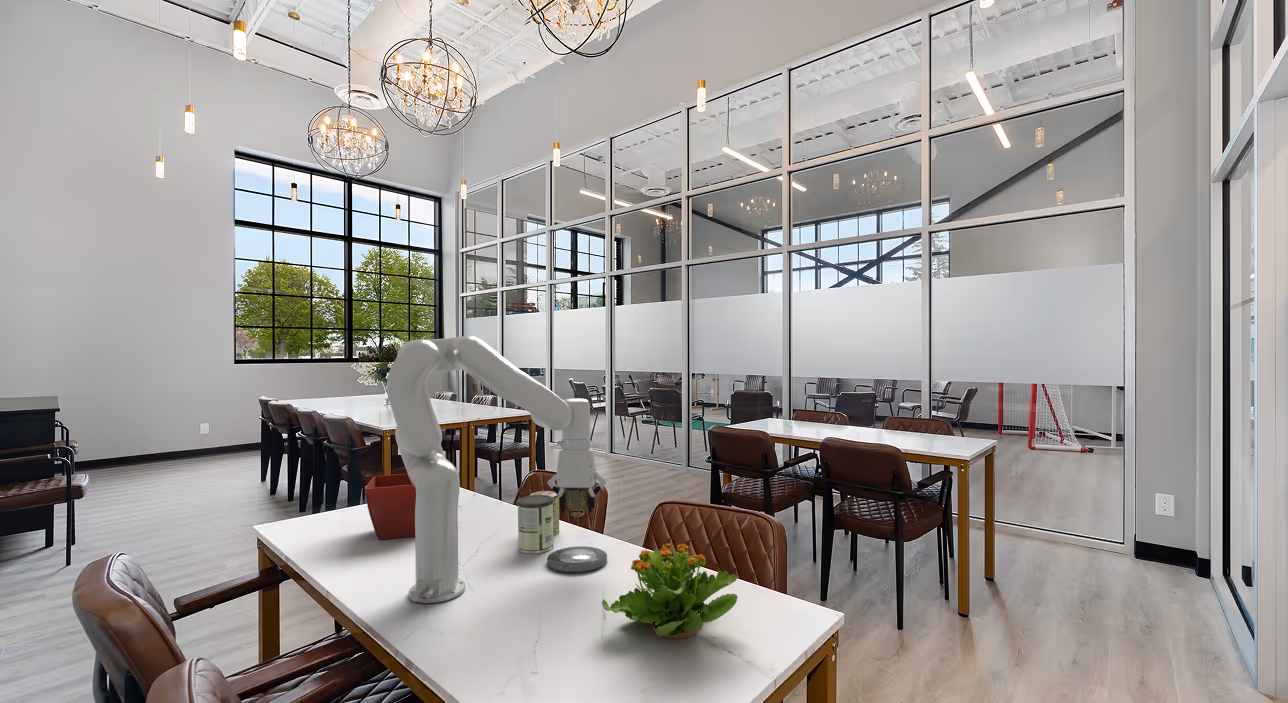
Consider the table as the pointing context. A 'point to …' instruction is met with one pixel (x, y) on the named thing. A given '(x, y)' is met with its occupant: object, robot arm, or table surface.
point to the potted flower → (674, 593)
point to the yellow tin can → (555, 508)
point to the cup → (576, 500)
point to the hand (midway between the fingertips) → (577, 510)
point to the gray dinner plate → (577, 560)
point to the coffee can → (535, 524)
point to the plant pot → (392, 505)
